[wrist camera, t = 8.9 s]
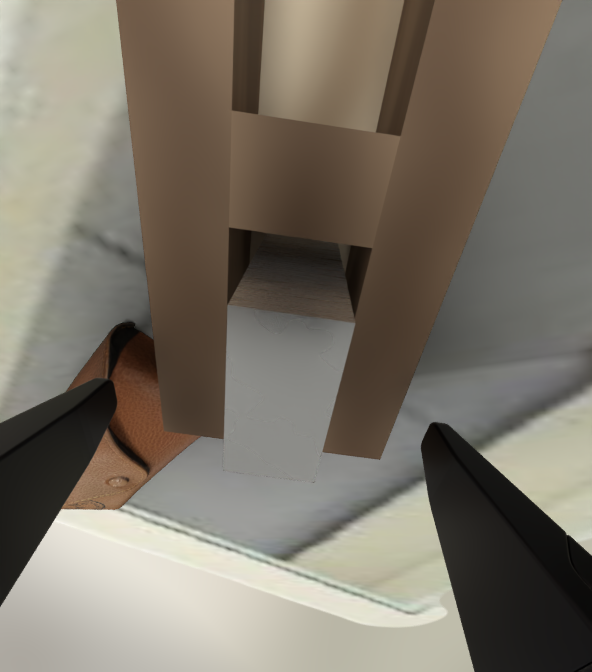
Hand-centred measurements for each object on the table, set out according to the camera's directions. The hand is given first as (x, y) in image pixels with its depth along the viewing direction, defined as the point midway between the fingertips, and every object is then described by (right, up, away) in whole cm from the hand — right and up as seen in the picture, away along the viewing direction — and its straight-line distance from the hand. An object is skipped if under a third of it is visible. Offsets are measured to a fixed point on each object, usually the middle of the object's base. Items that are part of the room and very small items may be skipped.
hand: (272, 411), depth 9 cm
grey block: (+1, +4, +7) cm, 8 cm away
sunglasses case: (-11, -4, +14) cm, 19 cm away
